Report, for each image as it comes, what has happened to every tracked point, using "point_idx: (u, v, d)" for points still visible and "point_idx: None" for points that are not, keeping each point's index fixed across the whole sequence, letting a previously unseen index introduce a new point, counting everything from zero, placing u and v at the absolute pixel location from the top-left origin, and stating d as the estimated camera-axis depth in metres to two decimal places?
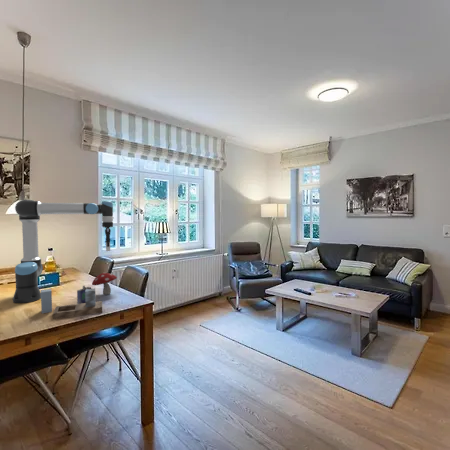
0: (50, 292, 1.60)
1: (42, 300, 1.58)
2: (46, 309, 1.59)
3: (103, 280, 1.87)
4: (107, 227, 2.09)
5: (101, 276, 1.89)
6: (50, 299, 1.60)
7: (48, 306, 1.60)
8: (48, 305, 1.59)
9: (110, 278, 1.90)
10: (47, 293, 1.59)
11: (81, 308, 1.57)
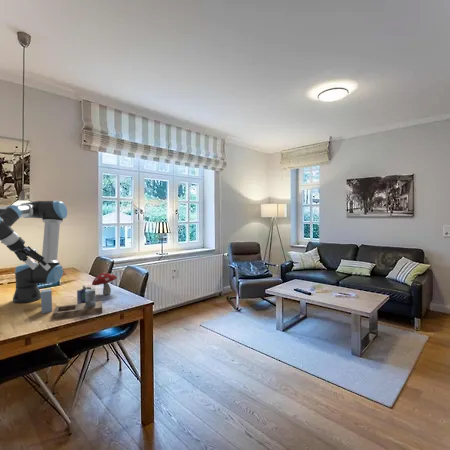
0: (50, 292, 1.60)
1: (42, 300, 1.58)
2: (46, 309, 1.59)
3: (103, 280, 1.87)
4: None
5: (101, 276, 1.89)
6: (50, 299, 1.60)
7: (48, 306, 1.60)
8: (48, 305, 1.59)
9: (110, 278, 1.90)
10: (47, 293, 1.59)
11: (81, 308, 1.57)
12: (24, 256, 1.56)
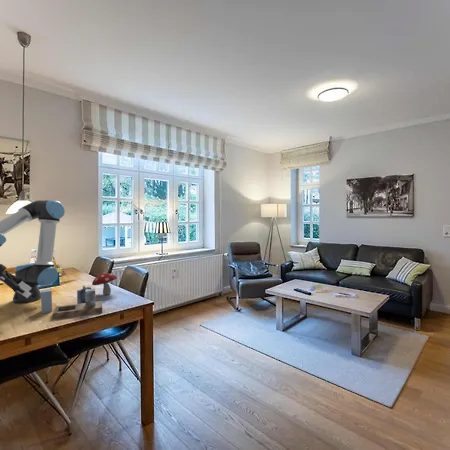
0: (50, 292, 1.60)
1: (42, 300, 1.58)
2: (46, 309, 1.59)
3: (103, 280, 1.87)
4: None
5: (101, 276, 1.89)
6: (50, 299, 1.60)
7: (48, 306, 1.60)
8: (48, 305, 1.59)
9: (110, 278, 1.90)
10: (47, 293, 1.59)
11: (81, 308, 1.57)
12: (14, 280, 1.56)
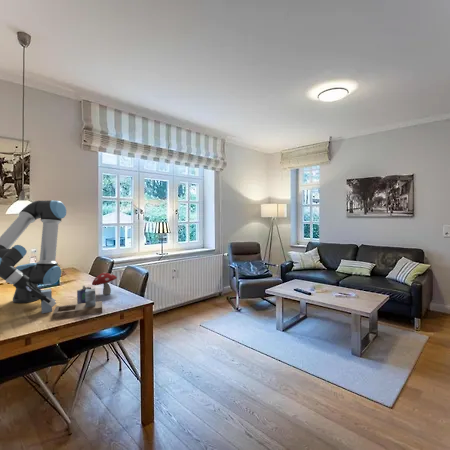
0: (50, 292, 1.60)
1: None
2: (46, 309, 1.59)
3: (103, 280, 1.87)
4: None
5: (101, 276, 1.89)
6: None
7: (48, 305, 1.60)
8: (48, 305, 1.59)
9: (110, 278, 1.90)
10: (47, 293, 1.59)
11: (81, 308, 1.57)
12: (38, 291, 1.61)
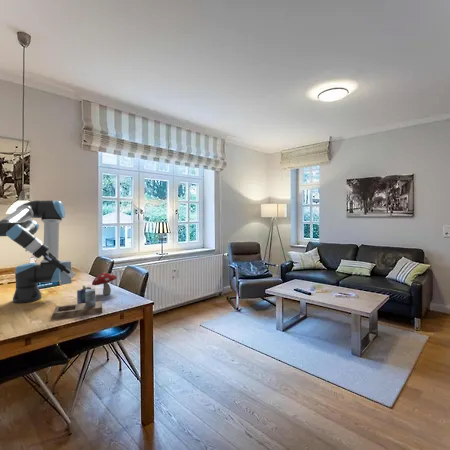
0: (69, 263, 1.55)
1: None
2: (65, 280, 1.54)
3: (103, 280, 1.87)
4: None
5: (101, 276, 1.89)
6: None
7: (68, 277, 1.55)
8: (67, 276, 1.55)
9: (110, 278, 1.90)
10: (66, 264, 1.54)
11: (81, 308, 1.57)
12: None
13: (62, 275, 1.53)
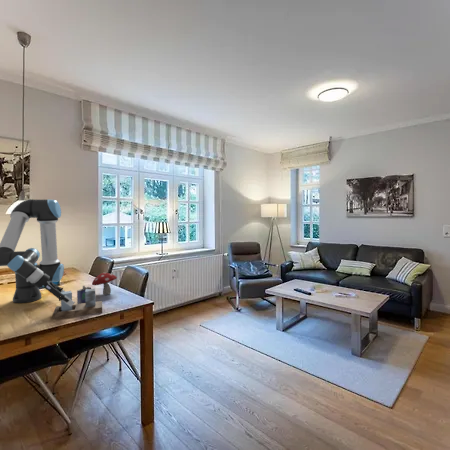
0: (70, 294, 1.56)
1: (62, 302, 1.54)
2: None
3: (103, 280, 1.87)
4: None
5: (101, 276, 1.89)
6: None
7: (69, 308, 1.56)
8: (68, 307, 1.56)
9: (110, 278, 1.90)
10: (67, 295, 1.55)
11: (81, 308, 1.57)
12: (56, 289, 1.59)
13: (63, 306, 1.54)
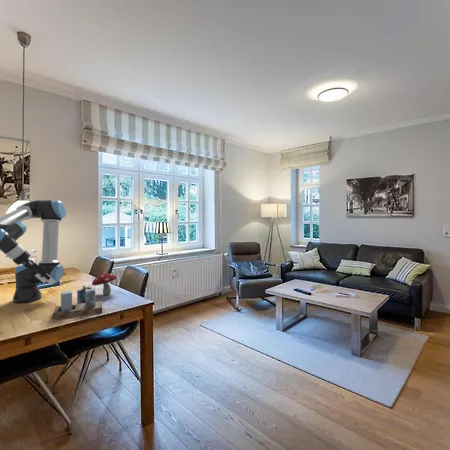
0: (70, 294, 1.56)
1: (62, 302, 1.54)
2: None
3: (103, 280, 1.87)
4: None
5: (101, 276, 1.89)
6: (70, 301, 1.56)
7: (69, 308, 1.56)
8: (68, 307, 1.56)
9: (110, 278, 1.90)
10: (67, 295, 1.55)
11: (81, 308, 1.57)
12: (33, 270, 1.54)
13: (63, 306, 1.54)
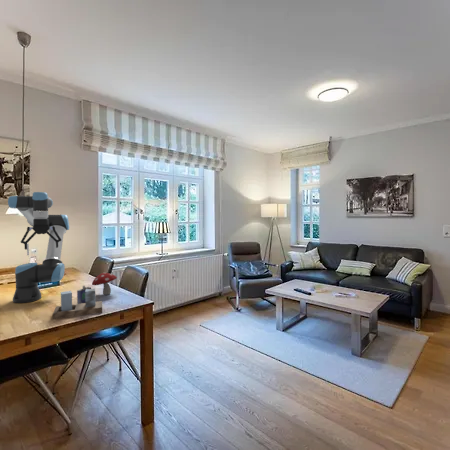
0: (70, 294, 1.56)
1: (62, 302, 1.54)
2: None
3: (103, 280, 1.87)
4: (33, 225, 1.65)
5: (101, 276, 1.89)
6: (70, 301, 1.56)
7: (69, 308, 1.56)
8: (68, 307, 1.56)
9: (110, 278, 1.90)
10: (67, 295, 1.55)
11: (81, 308, 1.57)
12: (31, 238, 1.64)
13: (63, 306, 1.54)
